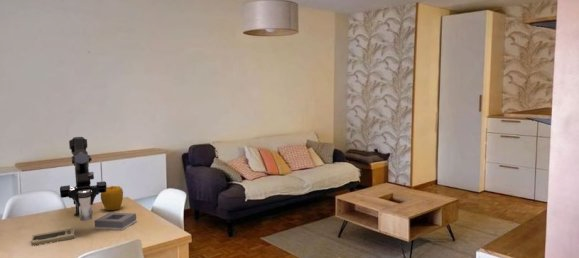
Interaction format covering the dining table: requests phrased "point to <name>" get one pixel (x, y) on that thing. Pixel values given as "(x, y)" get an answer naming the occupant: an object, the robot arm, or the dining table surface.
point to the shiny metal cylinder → (85, 204)
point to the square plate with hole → (115, 221)
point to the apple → (112, 197)
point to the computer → (52, 236)
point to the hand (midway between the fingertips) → (85, 205)
